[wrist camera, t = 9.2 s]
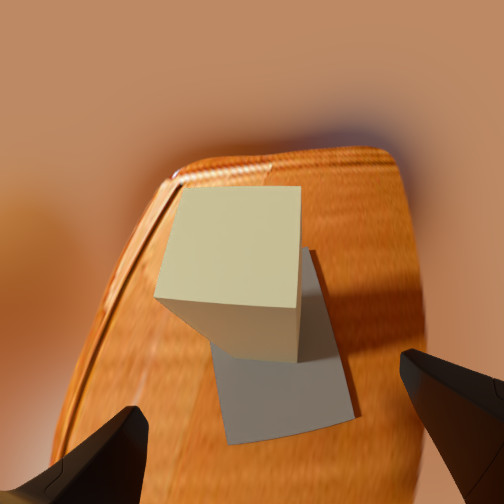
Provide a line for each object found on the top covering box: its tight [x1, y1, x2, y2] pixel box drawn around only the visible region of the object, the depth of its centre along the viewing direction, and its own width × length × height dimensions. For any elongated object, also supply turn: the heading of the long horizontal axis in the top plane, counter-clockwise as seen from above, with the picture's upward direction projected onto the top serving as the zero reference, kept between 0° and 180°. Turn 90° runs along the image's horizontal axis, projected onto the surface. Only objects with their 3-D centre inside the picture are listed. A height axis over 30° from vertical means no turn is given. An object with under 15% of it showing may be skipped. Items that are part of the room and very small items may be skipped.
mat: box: [210, 247, 355, 445], centre depth 21 cm, size 14×9×1 cm, turn 11°
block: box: [154, 186, 302, 363], centre depth 15 cm, size 4×4×13 cm
